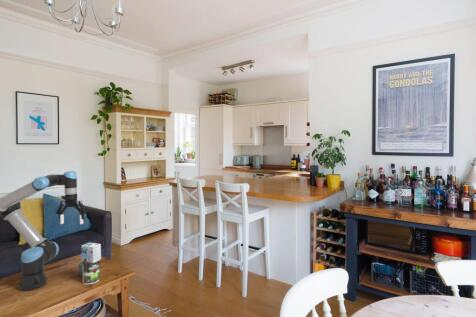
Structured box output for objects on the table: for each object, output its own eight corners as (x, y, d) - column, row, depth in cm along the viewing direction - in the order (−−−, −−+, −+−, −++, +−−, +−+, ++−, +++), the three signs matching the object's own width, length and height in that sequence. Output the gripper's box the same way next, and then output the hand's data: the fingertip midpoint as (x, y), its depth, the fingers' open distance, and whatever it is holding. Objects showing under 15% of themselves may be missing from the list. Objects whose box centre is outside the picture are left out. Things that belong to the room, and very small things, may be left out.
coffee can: (102, 280, 192) (102, 259, 191) (87, 286, 184) (86, 264, 183) (95, 275, 198) (94, 256, 198) (79, 281, 190) (79, 260, 189)
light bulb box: (81, 261, 189) (80, 245, 188) (89, 257, 195) (88, 242, 195) (93, 263, 186) (93, 247, 185) (101, 259, 192) (101, 243, 191)
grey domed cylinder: (77, 276, 197) (76, 265, 197) (81, 273, 202) (80, 262, 202) (84, 276, 197) (83, 265, 197) (88, 273, 202) (87, 262, 202)
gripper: (49, 194, 193) (50, 225, 194) (85, 194, 193) (86, 225, 194) (56, 192, 200) (57, 222, 201) (91, 192, 200) (92, 222, 201)
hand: (71, 223), depth 197 cm, fingers open, 13 cm apart
